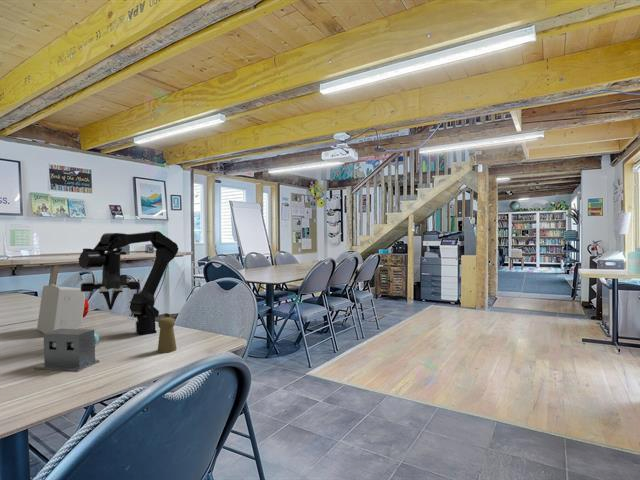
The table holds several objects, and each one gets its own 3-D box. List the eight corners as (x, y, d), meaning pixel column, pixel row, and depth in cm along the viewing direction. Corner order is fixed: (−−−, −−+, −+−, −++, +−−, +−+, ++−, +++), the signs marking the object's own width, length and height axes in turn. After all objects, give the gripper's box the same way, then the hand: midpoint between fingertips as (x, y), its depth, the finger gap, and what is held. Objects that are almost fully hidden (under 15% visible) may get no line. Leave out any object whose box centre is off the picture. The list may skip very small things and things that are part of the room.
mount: (57, 359, 118) (56, 328, 118) (99, 361, 116) (98, 329, 116) (34, 368, 110) (33, 335, 110) (78, 371, 108) (77, 336, 108)
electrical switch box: (92, 333, 159) (98, 286, 162) (52, 336, 147) (59, 285, 149) (75, 329, 167) (81, 284, 169) (36, 331, 155) (43, 283, 157)
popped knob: (87, 344, 120) (86, 331, 119) (99, 345, 119) (98, 331, 119) (66, 352, 112) (66, 337, 112) (79, 352, 111) (79, 338, 111)
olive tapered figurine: (180, 348, 129) (179, 316, 128) (168, 353, 123) (167, 320, 123) (166, 346, 130) (165, 315, 130) (153, 352, 125) (152, 319, 125)
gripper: (82, 268, 126) (81, 315, 125) (143, 267, 136) (141, 310, 136) (81, 267, 135) (79, 310, 135) (138, 266, 146) (136, 306, 145)
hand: (110, 309), depth 137 cm, fingers closed
